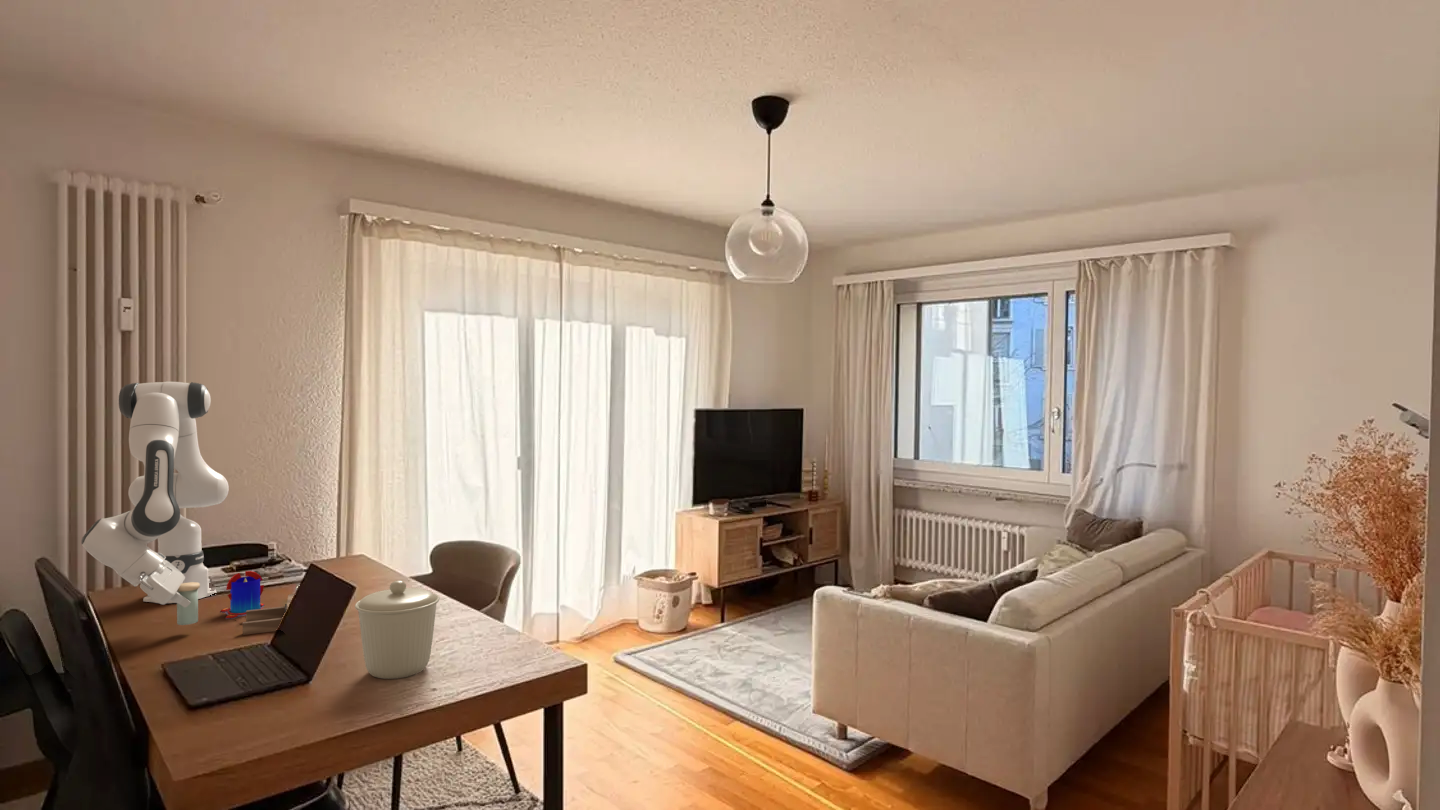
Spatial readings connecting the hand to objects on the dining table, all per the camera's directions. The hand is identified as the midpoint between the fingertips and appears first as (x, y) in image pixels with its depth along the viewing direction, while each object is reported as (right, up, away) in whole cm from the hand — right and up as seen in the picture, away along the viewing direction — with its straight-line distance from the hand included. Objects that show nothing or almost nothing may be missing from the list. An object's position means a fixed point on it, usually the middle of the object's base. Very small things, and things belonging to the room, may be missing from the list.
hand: (190, 601), depth 207 cm
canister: (+66, -10, -27) cm, 72 cm away
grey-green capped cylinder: (-1, -5, 0) cm, 5 cm away
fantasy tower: (+2, -8, +21) cm, 23 cm away
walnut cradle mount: (+16, -8, +8) cm, 20 cm away
